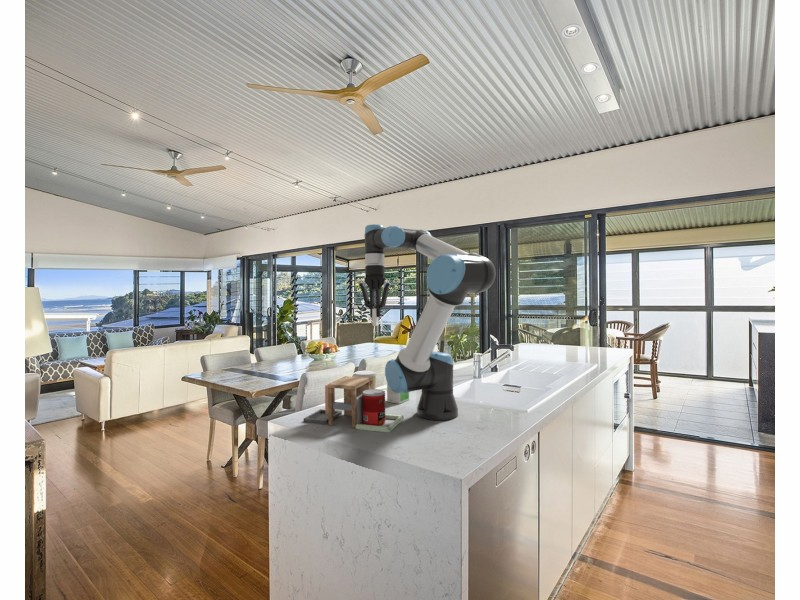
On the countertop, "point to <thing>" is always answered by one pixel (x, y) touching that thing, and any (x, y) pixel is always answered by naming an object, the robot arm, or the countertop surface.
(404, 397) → the skincare box
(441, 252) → the robot arm
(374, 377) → the coffee cup
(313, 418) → the tray
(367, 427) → the bay
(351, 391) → the tunnel
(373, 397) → the canned food
